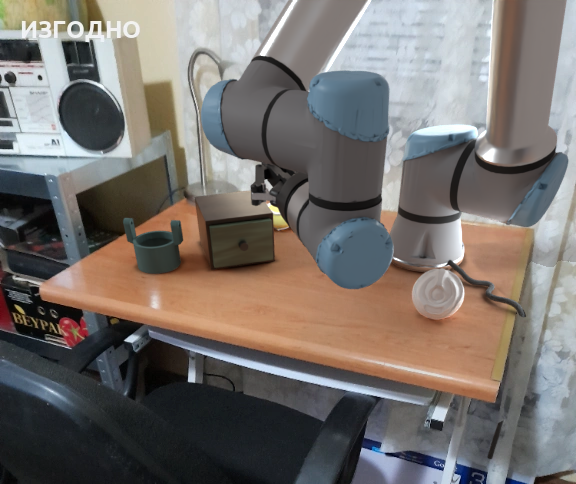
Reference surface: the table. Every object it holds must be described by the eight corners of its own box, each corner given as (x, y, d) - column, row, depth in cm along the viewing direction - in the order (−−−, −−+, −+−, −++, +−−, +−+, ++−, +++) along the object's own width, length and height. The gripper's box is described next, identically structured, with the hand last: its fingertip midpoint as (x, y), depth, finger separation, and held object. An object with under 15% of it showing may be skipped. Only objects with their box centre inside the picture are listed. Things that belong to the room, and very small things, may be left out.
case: (274, 261, 103) (273, 212, 97) (211, 270, 100) (205, 221, 94) (258, 234, 113) (256, 189, 107) (200, 242, 110) (194, 196, 105)
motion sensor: (405, 323, 84) (411, 279, 79) (412, 300, 90) (419, 258, 85) (457, 331, 82) (466, 287, 77) (461, 307, 88) (470, 265, 83)
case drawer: (274, 262, 100) (273, 222, 95) (215, 270, 98) (211, 230, 93) (258, 235, 111) (256, 198, 106) (204, 242, 108) (199, 204, 103)
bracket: (189, 266, 102) (183, 221, 96) (143, 278, 98) (134, 231, 93) (172, 250, 108) (166, 207, 102) (129, 260, 104) (119, 216, 99)
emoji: (273, 221, 110) (320, 205, 114) (246, 205, 118) (291, 190, 122) (275, 239, 112) (321, 222, 117) (248, 222, 120) (292, 207, 125)
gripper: (264, 245, 65) (228, 186, 83) (362, 231, 68) (306, 177, 86) (261, 184, 61) (223, 135, 79) (366, 172, 63) (307, 127, 81)
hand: (267, 157), depth 82 cm, fingers closed
